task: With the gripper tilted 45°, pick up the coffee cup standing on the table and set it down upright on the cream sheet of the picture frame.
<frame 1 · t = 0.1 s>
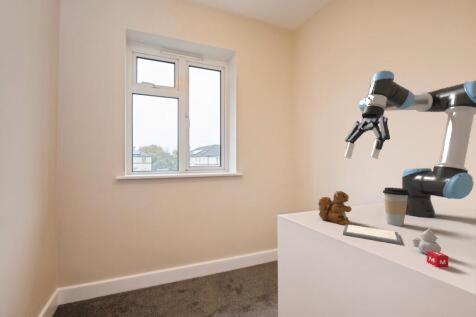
hand: (359, 157, 92), 28 cm above the table, tool tilted 20°, fingers open, 13 cm apart
light grey lumpy piece: (425, 253, 67), on the table
stuffed squirrel: (333, 221, 101), on the table
picture frame: (370, 234, 83), on the table
coffee cup: (395, 224, 97), on the table
dice: (437, 265, 60), on the table
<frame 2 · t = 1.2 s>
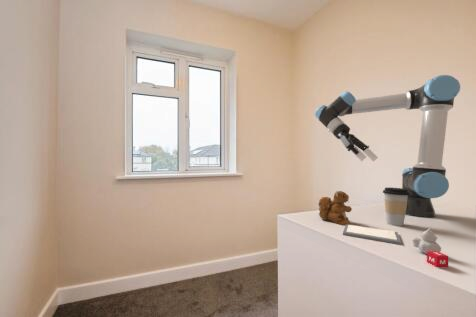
hand: (370, 159, 105), 27 cm above the table, tool tilted 45°, fingers open, 13 cm apart
nothing on the table moved.
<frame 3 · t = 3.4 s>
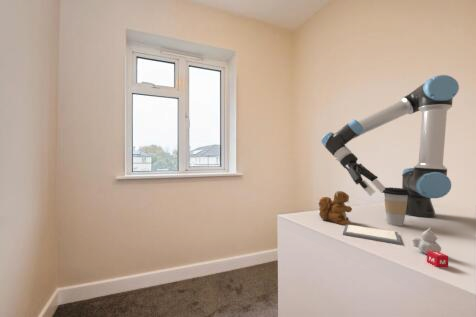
hand: (378, 192, 101), 13 cm above the table, tool tilted 45°, fingers open, 13 cm apart
nothing on the table moved.
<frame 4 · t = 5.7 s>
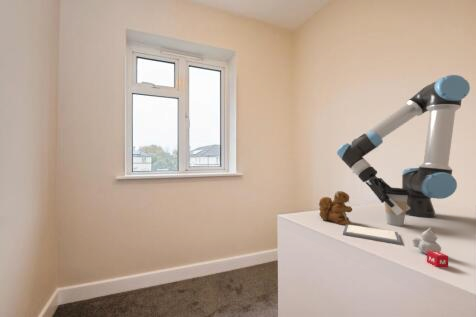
hand: (404, 211, 95), 6 cm above the table, tool tilted 45°, fingers closed on coffee cup, 9 cm apart
coffee cup: (394, 224, 97), on the table, touching gripper
everything else where it was.
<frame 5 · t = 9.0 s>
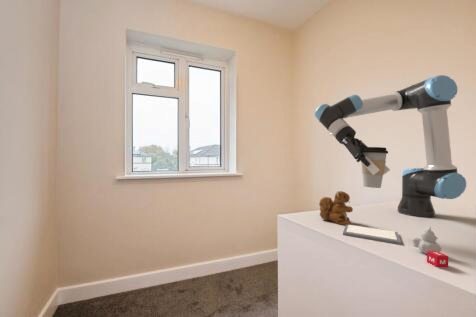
hand: (382, 172, 85), 22 cm above the table, tool tilted 45°, fingers closed on coffee cup, 9 cm apart
coffee cup: (371, 187, 88), point 16 cm above the table, touching gripper
everything else where it was.
when the fingers open (8 cm above the table, at t = 12.4 s): coffee cup drops 1 cm, resting on picture frame.
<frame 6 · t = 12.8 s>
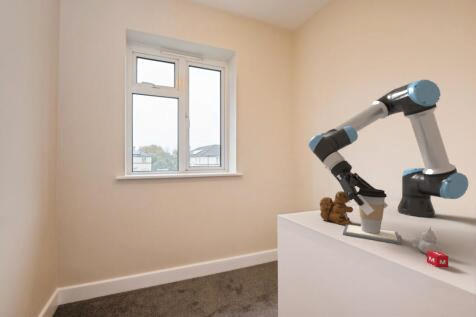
hand: (378, 210, 81), 9 cm above the table, tool tilted 45°, fingers open, 13 cm apart
coffee cup: (370, 231, 83), point 1 cm above the table, touching picture frame
everything else where it was.
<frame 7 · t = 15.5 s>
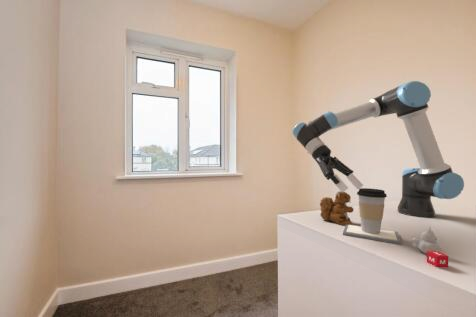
hand: (353, 188, 89), 16 cm above the table, tool tilted 45°, fingers open, 13 cm apart
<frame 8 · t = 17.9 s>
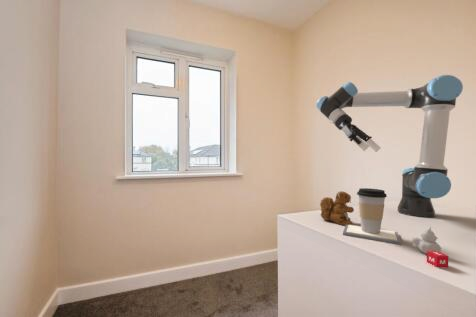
hand: (372, 149, 103), 32 cm above the table, tool tilted 45°, fingers open, 13 cm apart
at the end: coffee cup inside the target area on the picture frame (0.3 cm from its centre), point 0.9 cm above the picture frame's base; coffee cup tilted 0°; the gripper is holding nothing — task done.
